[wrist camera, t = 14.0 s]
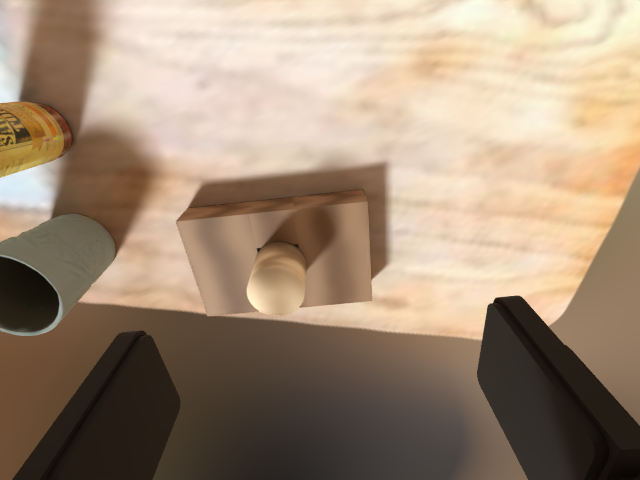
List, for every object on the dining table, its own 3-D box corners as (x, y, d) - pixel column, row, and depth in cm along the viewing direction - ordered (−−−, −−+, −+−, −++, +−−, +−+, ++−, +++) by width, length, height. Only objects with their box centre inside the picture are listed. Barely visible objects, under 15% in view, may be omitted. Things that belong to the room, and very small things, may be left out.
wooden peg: (303, 226, 43) (300, 265, 34) (309, 267, 46) (308, 313, 37) (255, 231, 43) (240, 271, 35) (264, 271, 46) (252, 318, 37)
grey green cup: (62, 277, 46) (-13, 340, 36) (24, 209, 42) (-75, 259, 31) (133, 269, 46) (79, 331, 35) (103, 201, 41) (31, 248, 31)
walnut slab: (363, 189, 41) (367, 201, 38) (367, 283, 48) (372, 300, 44) (187, 208, 42) (175, 221, 38) (215, 297, 48) (207, 316, 45)
